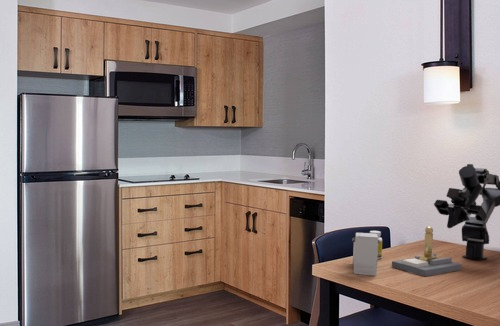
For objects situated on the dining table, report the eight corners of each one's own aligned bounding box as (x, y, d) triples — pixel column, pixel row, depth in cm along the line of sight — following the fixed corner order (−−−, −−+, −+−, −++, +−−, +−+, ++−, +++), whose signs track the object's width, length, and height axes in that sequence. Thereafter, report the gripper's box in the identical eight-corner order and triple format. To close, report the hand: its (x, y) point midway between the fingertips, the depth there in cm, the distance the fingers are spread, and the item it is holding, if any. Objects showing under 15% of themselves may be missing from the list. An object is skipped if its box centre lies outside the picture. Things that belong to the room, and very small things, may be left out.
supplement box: (376, 276, 176) (378, 237, 175) (353, 274, 177) (355, 235, 177) (376, 270, 183) (377, 233, 183) (353, 268, 185) (355, 231, 184)
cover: (413, 261, 189) (413, 258, 189) (428, 265, 184) (428, 261, 184) (402, 263, 186) (402, 260, 186) (416, 267, 181) (416, 263, 181)
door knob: (428, 260, 191) (430, 225, 191) (436, 262, 189) (437, 226, 188) (419, 261, 188) (420, 226, 188) (426, 263, 186) (428, 227, 185)
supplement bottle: (383, 257, 204) (384, 231, 203) (380, 260, 199) (381, 233, 198) (368, 255, 206) (369, 229, 206) (365, 258, 201) (366, 231, 201)
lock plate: (427, 261, 199) (428, 251, 199) (460, 269, 188) (461, 259, 188) (391, 266, 189) (392, 256, 189) (424, 276, 177) (425, 265, 177)
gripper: (438, 178, 203) (417, 208, 198) (483, 182, 188) (462, 216, 182) (450, 198, 208) (430, 228, 203) (495, 204, 193) (475, 237, 187)
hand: (448, 227), depth 194 cm, fingers closed
